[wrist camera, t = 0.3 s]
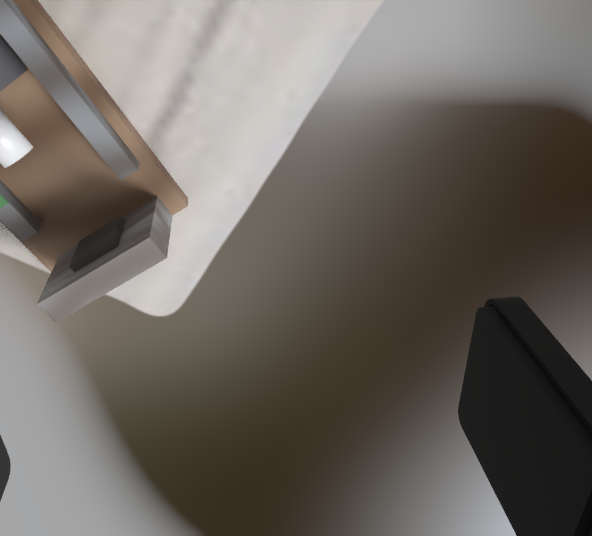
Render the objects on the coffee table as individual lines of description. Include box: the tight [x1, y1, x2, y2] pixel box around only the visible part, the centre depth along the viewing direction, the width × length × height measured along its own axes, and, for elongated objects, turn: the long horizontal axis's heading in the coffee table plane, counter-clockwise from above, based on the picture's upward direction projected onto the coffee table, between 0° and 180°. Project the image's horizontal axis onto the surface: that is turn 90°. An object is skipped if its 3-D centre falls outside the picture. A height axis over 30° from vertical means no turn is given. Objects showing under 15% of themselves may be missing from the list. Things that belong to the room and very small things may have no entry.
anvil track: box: [0, 0, 188, 322], centre depth 39 cm, size 23×13×8 cm, turn 29°
